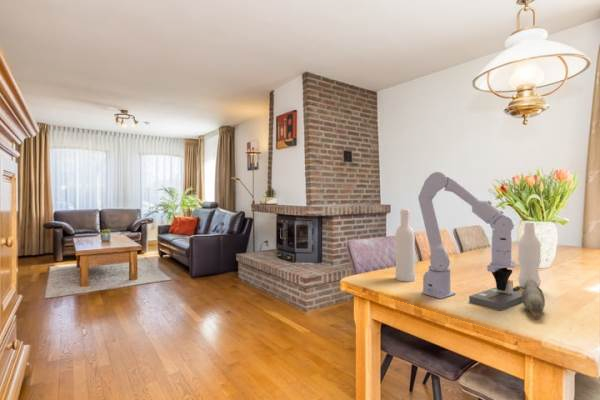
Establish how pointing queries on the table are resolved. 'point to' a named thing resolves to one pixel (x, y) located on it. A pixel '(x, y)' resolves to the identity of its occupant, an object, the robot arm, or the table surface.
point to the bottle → (405, 249)
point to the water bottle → (529, 256)
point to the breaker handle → (507, 287)
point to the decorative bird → (533, 298)
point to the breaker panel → (496, 299)
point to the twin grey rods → (516, 288)
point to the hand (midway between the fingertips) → (501, 290)
